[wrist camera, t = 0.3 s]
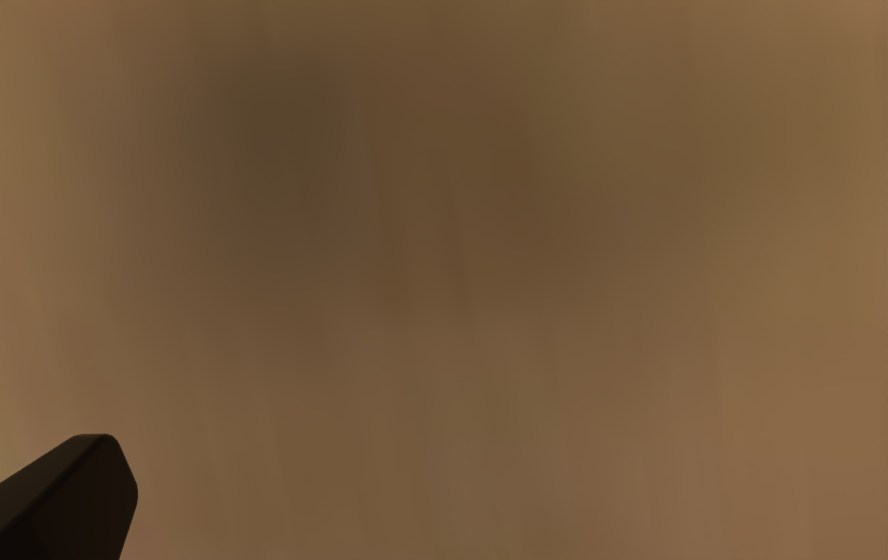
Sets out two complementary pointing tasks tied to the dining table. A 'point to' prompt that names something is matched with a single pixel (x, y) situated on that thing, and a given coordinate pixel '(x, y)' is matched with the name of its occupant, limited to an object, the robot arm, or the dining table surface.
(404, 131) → the dining table surface
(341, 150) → the dining table surface
